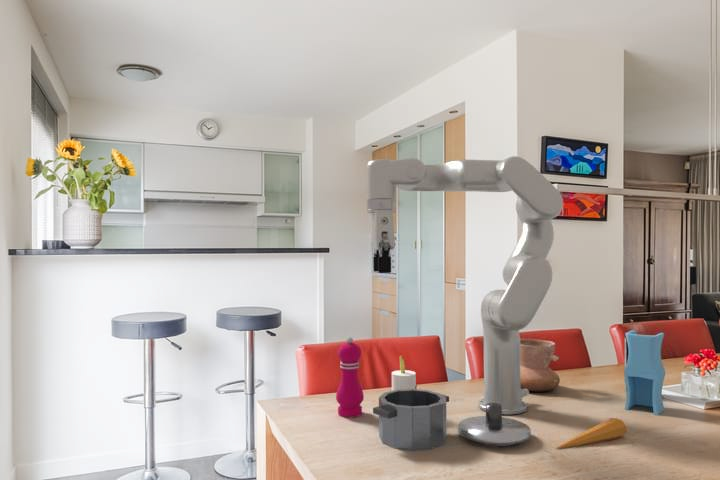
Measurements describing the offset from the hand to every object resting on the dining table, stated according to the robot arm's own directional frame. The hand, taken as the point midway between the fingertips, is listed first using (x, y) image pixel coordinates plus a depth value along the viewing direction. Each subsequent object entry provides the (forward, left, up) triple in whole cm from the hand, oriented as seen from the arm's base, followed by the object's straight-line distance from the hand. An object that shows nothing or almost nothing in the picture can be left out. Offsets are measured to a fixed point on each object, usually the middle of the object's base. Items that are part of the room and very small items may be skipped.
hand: (382, 271), depth 140 cm
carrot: (-21, +45, -37) cm, 62 cm away
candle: (-4, +4, -37) cm, 38 cm away
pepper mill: (+7, -5, -37) cm, 38 cm away
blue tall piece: (-55, +43, -37) cm, 79 cm away
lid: (-7, +30, -37) cm, 48 cm away
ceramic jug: (-51, +12, -37) cm, 64 cm away
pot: (+7, +18, -37) cm, 42 cm away
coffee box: (-68, +37, -37) cm, 86 cm away
